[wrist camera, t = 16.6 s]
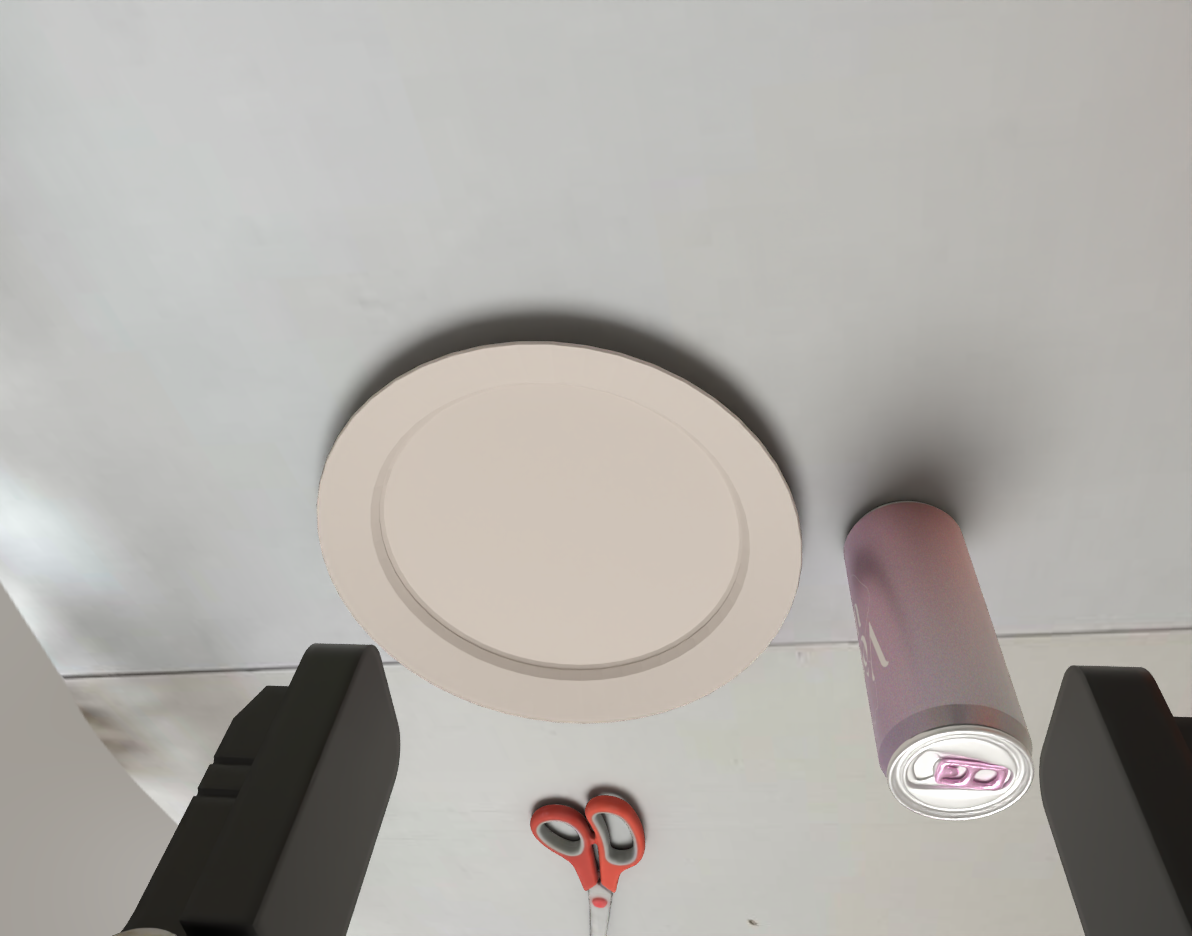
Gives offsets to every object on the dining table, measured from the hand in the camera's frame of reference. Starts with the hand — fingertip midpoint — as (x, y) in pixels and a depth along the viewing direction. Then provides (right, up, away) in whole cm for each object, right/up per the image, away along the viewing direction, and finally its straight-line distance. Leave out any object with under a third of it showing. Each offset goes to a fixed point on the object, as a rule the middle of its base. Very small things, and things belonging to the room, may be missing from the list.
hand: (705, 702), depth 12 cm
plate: (-3, -1, +42) cm, 42 cm away
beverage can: (+15, -1, +40) cm, 42 cm away
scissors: (0, -27, +60) cm, 66 cm away
